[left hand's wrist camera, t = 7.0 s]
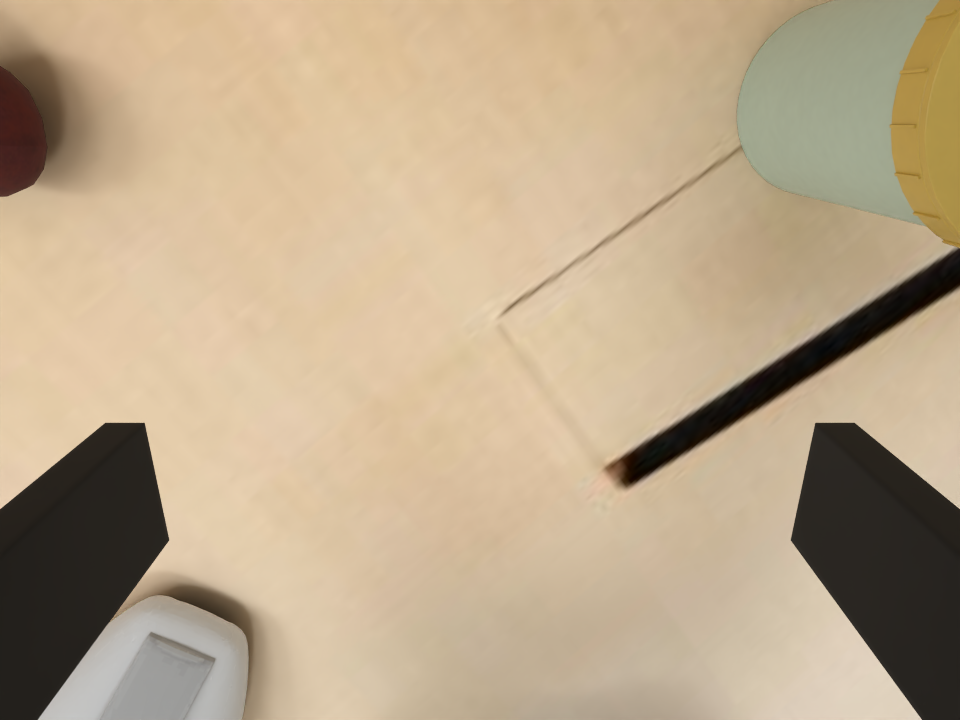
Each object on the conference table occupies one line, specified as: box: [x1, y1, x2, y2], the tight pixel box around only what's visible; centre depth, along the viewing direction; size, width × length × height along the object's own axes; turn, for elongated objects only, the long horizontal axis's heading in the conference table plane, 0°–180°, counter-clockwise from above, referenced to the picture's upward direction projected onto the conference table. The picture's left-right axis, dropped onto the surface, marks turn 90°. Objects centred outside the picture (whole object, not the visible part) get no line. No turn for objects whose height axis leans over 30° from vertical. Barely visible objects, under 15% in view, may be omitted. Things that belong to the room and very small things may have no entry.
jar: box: [737, 0, 939, 226], centre depth 28 cm, size 10×10×17 cm
